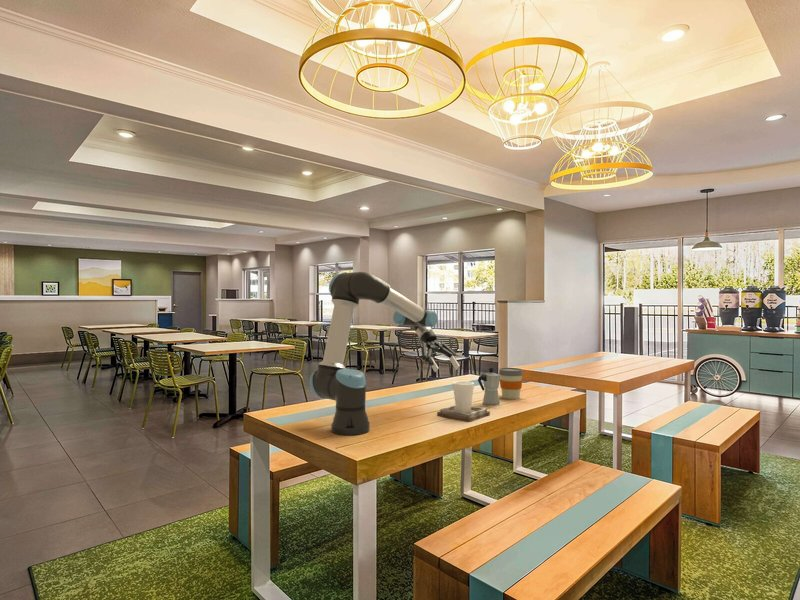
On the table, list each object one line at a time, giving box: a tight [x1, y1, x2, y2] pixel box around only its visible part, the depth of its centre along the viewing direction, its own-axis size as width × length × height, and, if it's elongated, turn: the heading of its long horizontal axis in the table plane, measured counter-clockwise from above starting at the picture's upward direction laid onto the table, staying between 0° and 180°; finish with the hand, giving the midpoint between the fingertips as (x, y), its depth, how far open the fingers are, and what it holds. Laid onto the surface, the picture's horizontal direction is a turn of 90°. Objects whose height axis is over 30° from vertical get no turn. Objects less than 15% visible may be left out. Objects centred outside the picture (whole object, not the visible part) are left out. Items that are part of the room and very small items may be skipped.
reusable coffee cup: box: [498, 367, 524, 400], centre depth 246 cm, size 13×13×15 cm
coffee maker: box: [477, 367, 501, 406], centre depth 230 cm, size 15×9×18 cm, turn 121°
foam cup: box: [452, 380, 475, 413], centre depth 206 cm, size 10×9×13 cm
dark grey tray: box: [436, 405, 491, 423], centre depth 206 cm, size 17×17×3 cm
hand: (447, 369), depth 214 cm, fingers open, 13 cm apart
